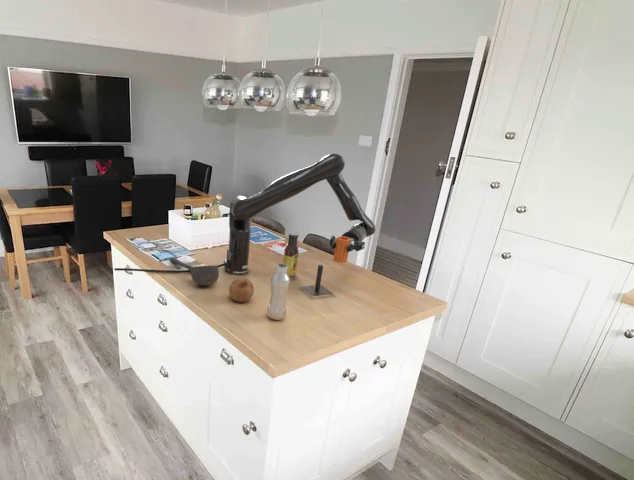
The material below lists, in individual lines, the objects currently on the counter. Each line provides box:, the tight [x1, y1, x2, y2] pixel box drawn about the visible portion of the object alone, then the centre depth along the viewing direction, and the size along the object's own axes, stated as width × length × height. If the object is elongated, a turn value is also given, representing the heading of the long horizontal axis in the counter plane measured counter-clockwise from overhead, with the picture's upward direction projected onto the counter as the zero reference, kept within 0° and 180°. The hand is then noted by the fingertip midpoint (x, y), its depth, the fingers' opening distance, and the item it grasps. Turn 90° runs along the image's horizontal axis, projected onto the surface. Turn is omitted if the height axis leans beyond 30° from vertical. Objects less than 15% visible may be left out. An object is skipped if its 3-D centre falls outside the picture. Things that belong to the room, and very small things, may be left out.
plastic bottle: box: [266, 263, 291, 321], centre depth 145 cm, size 6×7×20 cm
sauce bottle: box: [282, 232, 300, 279], centre depth 183 cm, size 6×6×20 cm
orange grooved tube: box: [332, 235, 351, 264], centre depth 161 cm, size 5×5×9 cm
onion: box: [228, 277, 255, 303], centre depth 159 cm, size 10×9×10 cm
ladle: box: [169, 257, 220, 287], centre depth 181 cm, size 12×38×10 cm, turn 35°
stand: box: [301, 264, 334, 297], centre depth 171 cm, size 10×10×12 cm
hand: (340, 247), depth 158 cm, fingers closed on orange grooved tube, 5 cm apart
